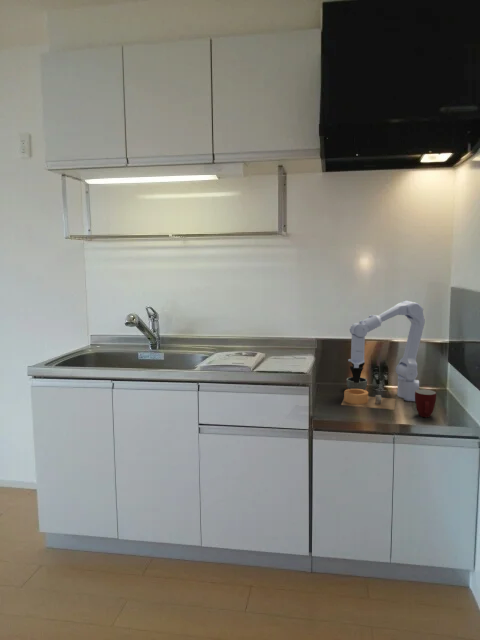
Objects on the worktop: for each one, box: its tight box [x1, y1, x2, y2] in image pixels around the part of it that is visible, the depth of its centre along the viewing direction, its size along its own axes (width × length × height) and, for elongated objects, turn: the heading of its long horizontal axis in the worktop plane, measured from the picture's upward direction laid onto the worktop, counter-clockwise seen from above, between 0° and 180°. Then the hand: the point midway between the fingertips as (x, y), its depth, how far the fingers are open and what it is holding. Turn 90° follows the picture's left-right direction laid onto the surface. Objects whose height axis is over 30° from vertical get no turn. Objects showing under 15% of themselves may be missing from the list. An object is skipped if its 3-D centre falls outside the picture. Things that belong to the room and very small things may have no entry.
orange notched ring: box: [343, 388, 369, 404], centre depth 221 cm, size 10×10×4 cm
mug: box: [414, 388, 437, 418], centre depth 203 cm, size 10×8×10 cm
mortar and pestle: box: [346, 376, 368, 390], centre depth 236 cm, size 11×9×12 cm
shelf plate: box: [340, 394, 397, 411], centre depth 220 cm, size 22×16×5 cm
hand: (356, 380), depth 224 cm, fingers open, 7 cm apart
